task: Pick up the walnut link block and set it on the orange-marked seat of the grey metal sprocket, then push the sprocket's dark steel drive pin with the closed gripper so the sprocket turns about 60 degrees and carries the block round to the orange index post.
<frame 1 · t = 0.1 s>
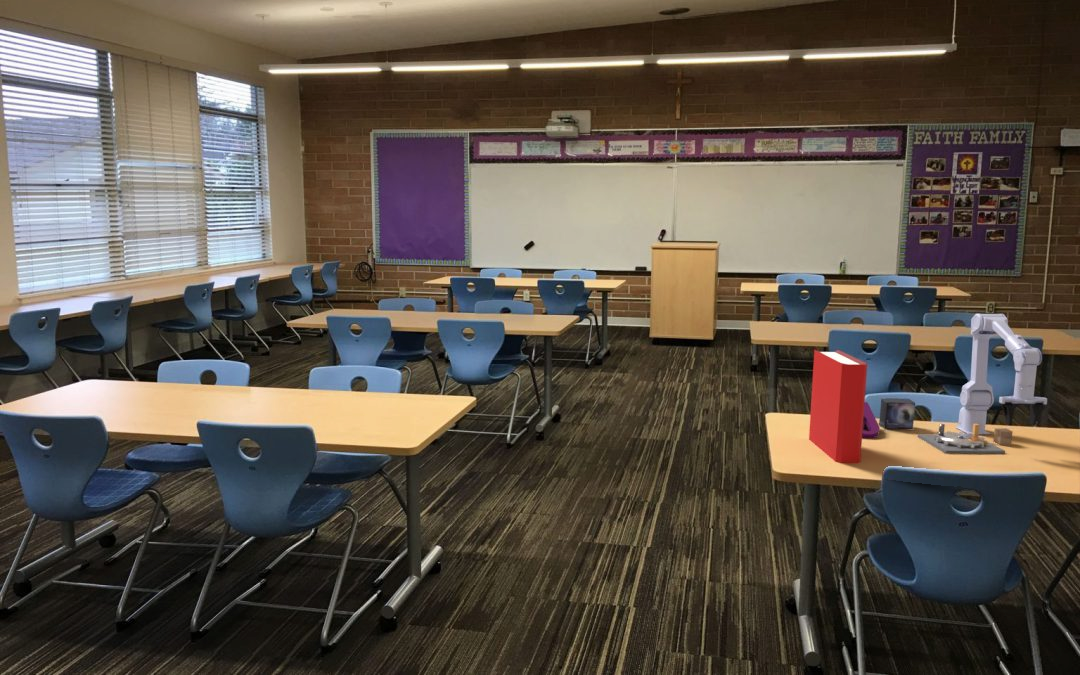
hand: (1020, 424, 281), 10 cm above the table, tool pointing down, fingers open, 7 cm apart
small box: (895, 428, 315), on the table
book: (834, 451, 285), on the table
base plate: (959, 445, 293), on the table
link block: (1002, 443, 295), on the table
sprocket: (960, 434, 292), point 4 cm above the table, hinge at 0.0°
mounting bracket: (859, 432, 309), on the table
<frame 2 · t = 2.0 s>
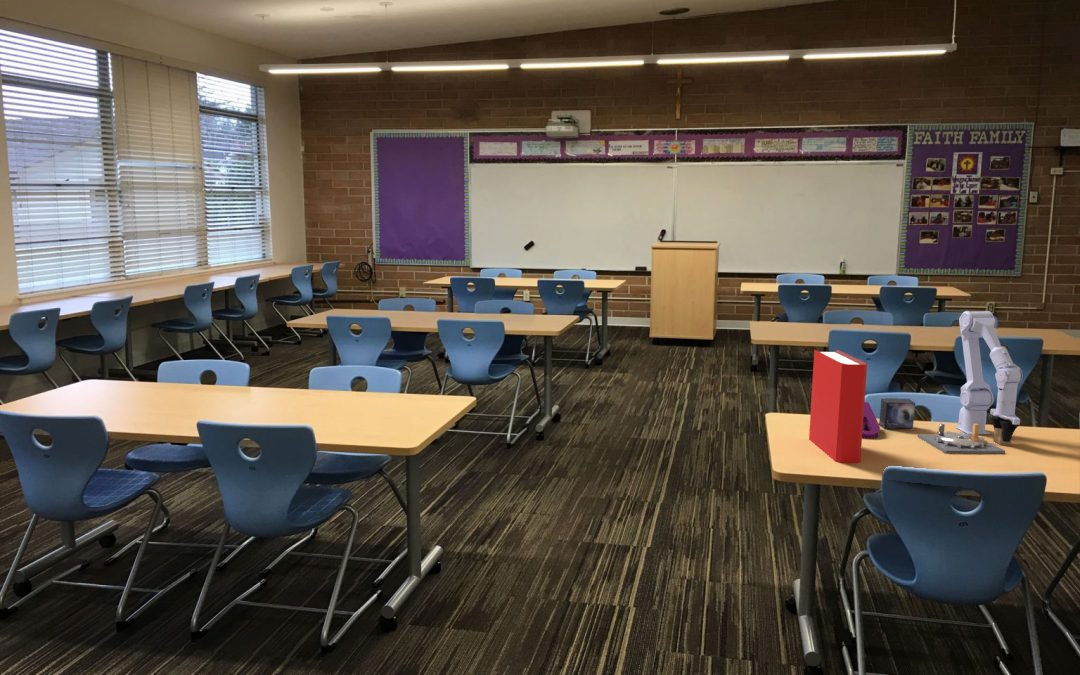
hand: (1002, 439, 295), 1 cm above the table, tool pointing down, fingers closed on link block, 4 cm apart
link block: (1002, 443, 295), on the table, touching gripper
everything else where it was.
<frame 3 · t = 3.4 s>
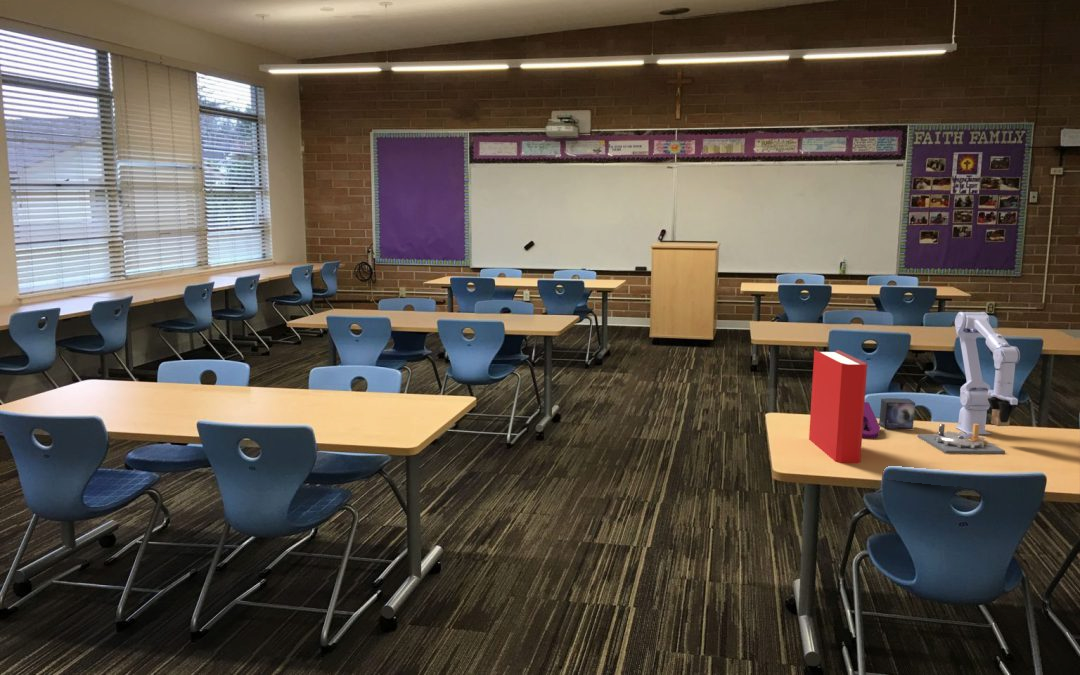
hand: (1000, 420, 293), 8 cm above the table, tool pointing down, fingers closed on link block, 4 cm apart
link block: (1000, 424, 293), point 7 cm above the table, touching gripper
everything else where it was.
when the fingers open (5 cm above the table, at t = 5.0 s): link block stays where it is, resting on sprocket.
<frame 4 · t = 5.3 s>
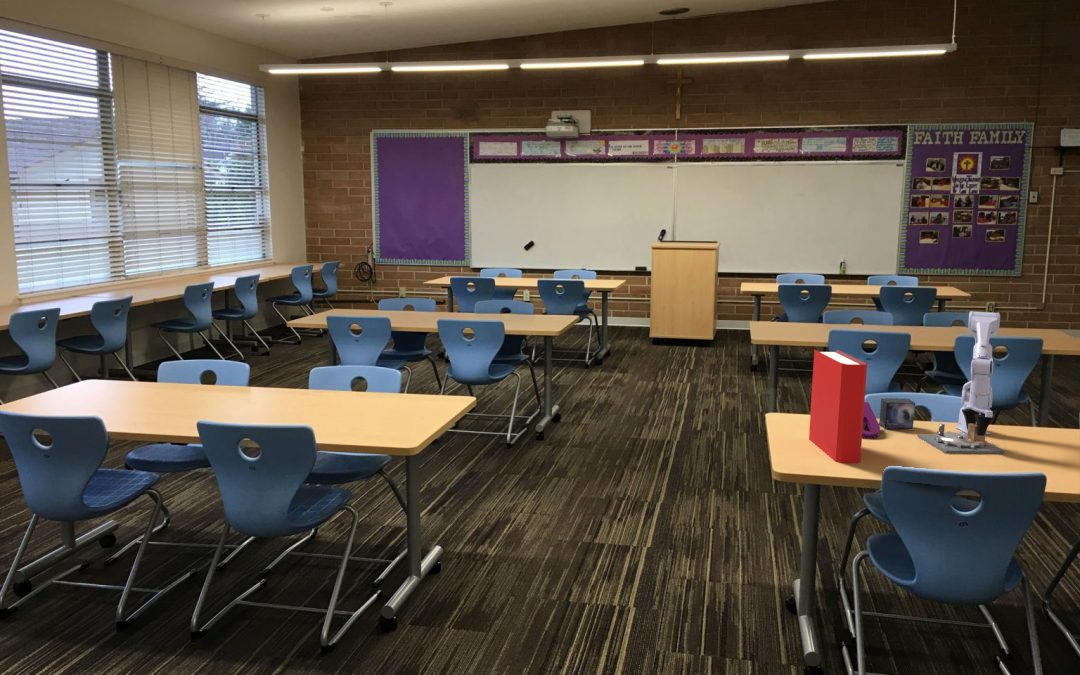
hand: (975, 432, 290), 5 cm above the table, tool pointing down, fingers open, 6 cm apart
link block: (975, 439, 290), point 3 cm above the table, touching sprocket
sprocket: (960, 434, 292), point 4 cm above the table, hinge at 0.0°, touching link block
everything else where it was.
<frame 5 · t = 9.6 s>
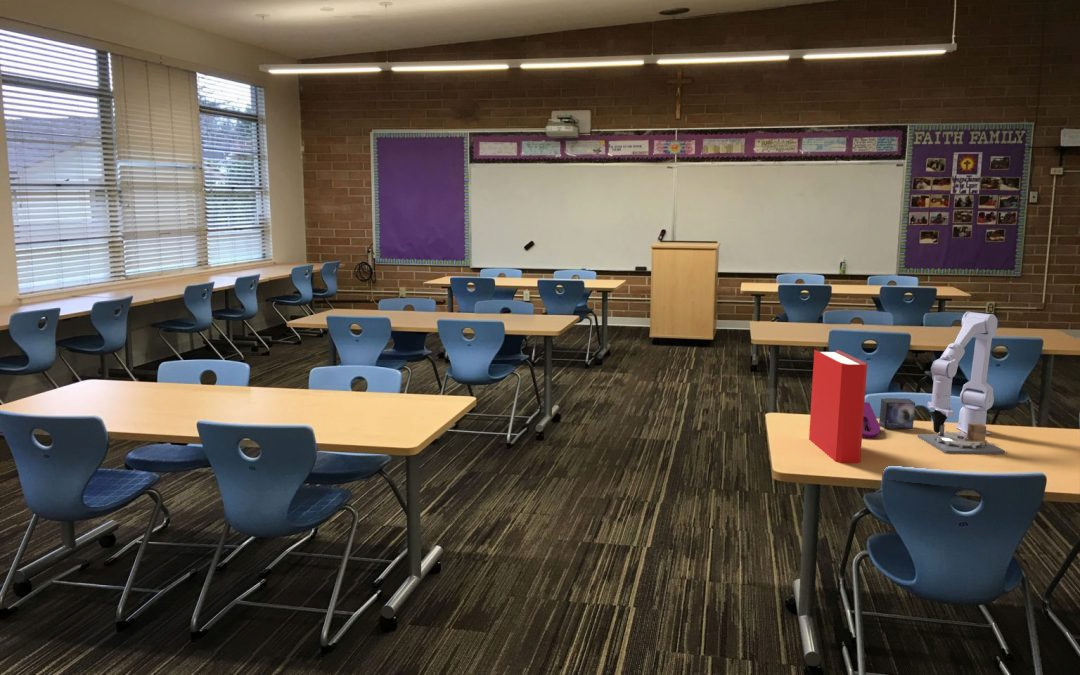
hand: (937, 432, 296), 3 cm above the table, tool pointing down, fingers closed, pressing on sprocket
sprocket: (960, 434, 292), point 4 cm above the table, hinge at 3.7°, touching gripper, link block
everything else where it was.
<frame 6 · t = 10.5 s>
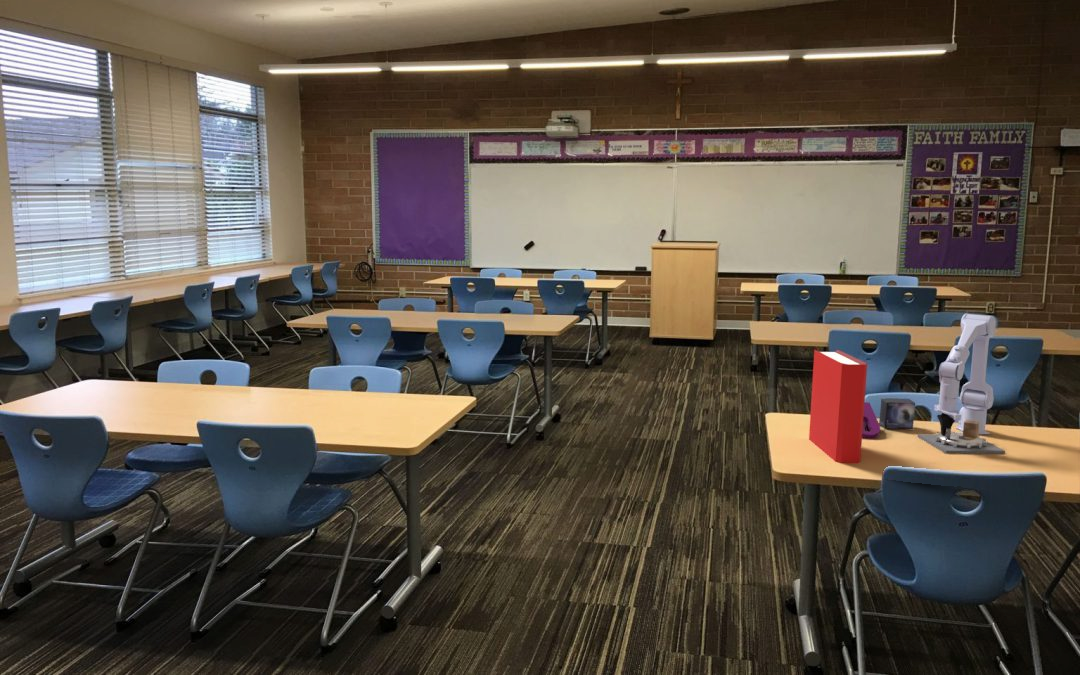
hand: (945, 435, 291), 4 cm above the table, tool pointing down, fingers closed, pressing on sprocket
link block: (970, 435, 294), point 3 cm above the table, touching sprocket
sprocket: (960, 434, 292), point 4 cm above the table, hinge at 51.0°, touching gripper, link block
everything else where it was.
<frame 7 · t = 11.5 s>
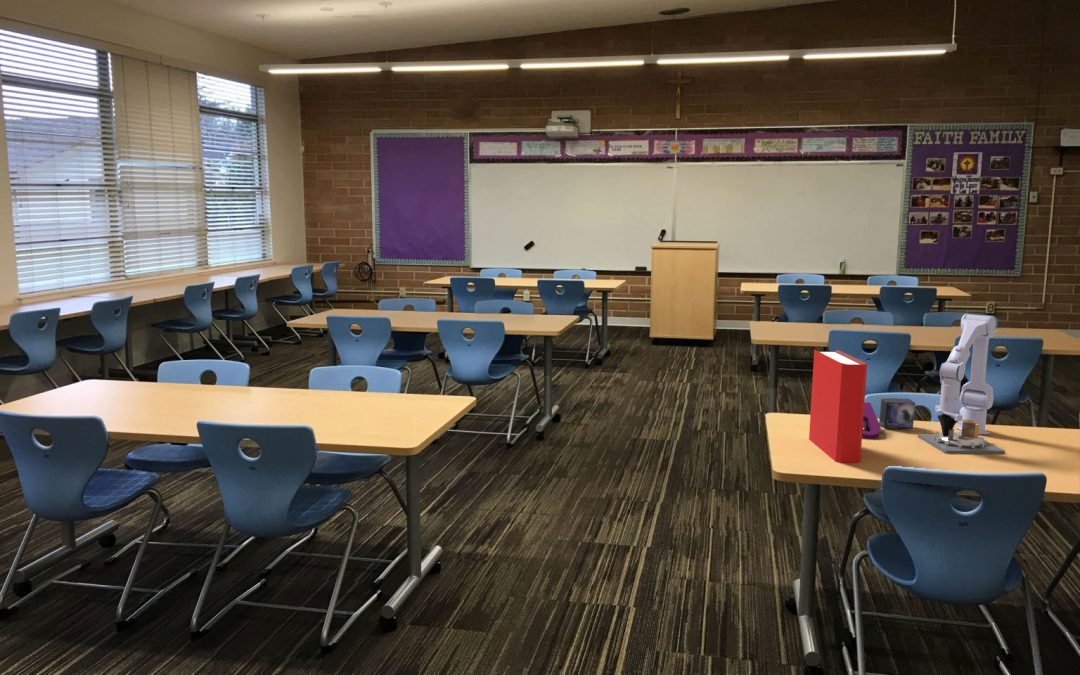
hand: (946, 436, 291), 3 cm above the table, tool pointing down, fingers closed
sprocket: (960, 434, 292), point 4 cm above the table, hinge at 61.7°, touching gripper, link block
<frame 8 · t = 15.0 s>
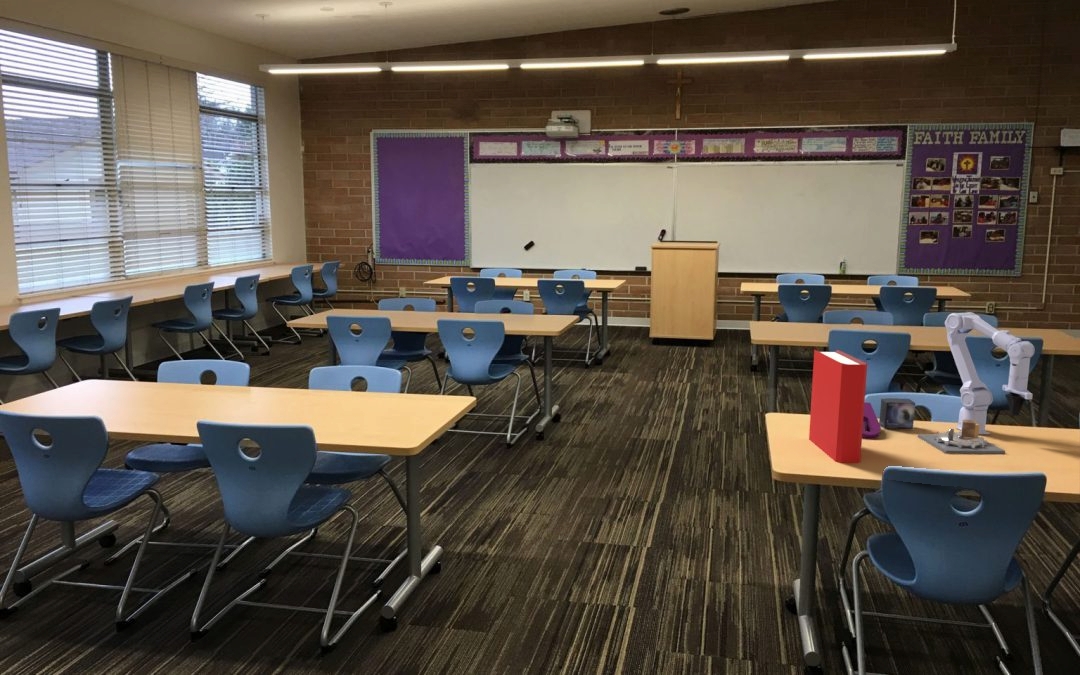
hand: (1014, 415, 295), 10 cm above the table, tool pointing down, fingers closed
sprocket: (960, 434, 292), point 4 cm above the table, hinge at 61.7°, touching link block
everything else where it was.
at the end: sprocket at +62° (first picture: +0°); link block 0.5 cm from the target spot, point 2.7 cm above the table; link block tilted 0° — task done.
